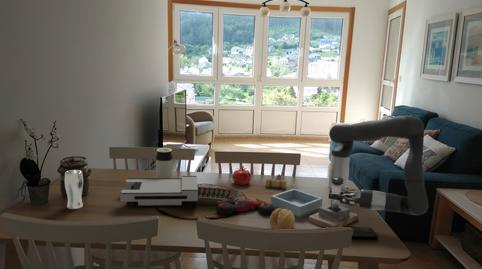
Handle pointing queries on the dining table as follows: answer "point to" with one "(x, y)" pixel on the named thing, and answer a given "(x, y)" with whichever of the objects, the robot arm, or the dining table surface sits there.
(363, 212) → the dining table surface
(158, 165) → the travel mug
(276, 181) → the gavel
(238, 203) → the toy motorcycle
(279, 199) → the tray
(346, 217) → the peg hole base
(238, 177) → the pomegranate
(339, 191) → the stop pin
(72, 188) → the beer glass
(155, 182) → the game console
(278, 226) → the bread roll
